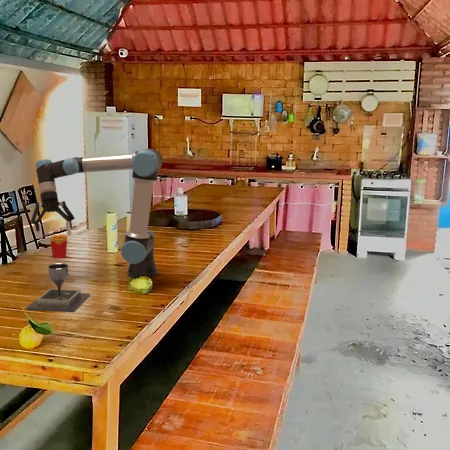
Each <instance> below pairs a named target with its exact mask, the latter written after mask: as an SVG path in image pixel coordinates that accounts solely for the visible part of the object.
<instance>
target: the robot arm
mask: <svg viewBox="0 0 450 450" xmlns="http://www.w3.org/2000/svg"><path fill="white" fill-rule="evenodd" d="M162 166H163V156H162V153H161V152H159V151H158V150H157V149H155V148H146V149H140V150H137V151H134V152H133V153H124V154H111V155H110V154H109V155H108V154H107V155H96V156H82V157H80V156H79V157H77V156H76V157H70V158H69V157H68V158H65V159H62V160H58V161H54V162H52V160H51V159H48V158H44V159H39V160H37V161H36V162H35V172H36V176H37V182H38V183H37V184H38V189H39V193H40V194H39V195H40V196H39V198H40V201H41V203H40V202H36V203H35V204H34V210H33V213H32V216H31V219H30V224H33V225H34V226H35V228H34V229H35V231H36V232H38V239H43V237H44V234H43V230H42V224H41V223H40V222H41V220H42V218H43V217H44V216H45V214H47V213H54V212H56V213H58V215H60V217H61V218H63V219H64V220H65V221H66V222H65V226H66V227H65V228H66V231H67V232H66V233H67V237H70V236H71V235H72V228H73V226H72V225H73V223H72V221H74V220H75V219H76V218H75V216H74V215H73V213H72V212H71V210H70V209H69V207H68V206H67V204H66V201H65V200H63V201H59V198H58V193H57V186H56V185H57V184H56V179H58V178H62V177H68V176H72V175H75V174H83V173H84V174H85V173H95V172H97V173H98V172H109V171H110V172H111V171H113V172H114V171H126V170H127V171H128V170H132V176H131V178H132V179H133V180H134V186H133V187H134V188H133V196H132V203H131V211H130V220H129V230H127V231H126V232H125V234H124V241H123V244H122V246H121V251H120V252H121V253H120V254H121V256H122V259H124V260H125V261H126V262H127V263H129V265H128V268H127V276H128V277H130V278H134V279H138V278H137V277H140V276H147V277H150V278H149V279H151V278H153V277H156V276H158V268H157V264H156V262H155V233H154V231H152V230H150V229H148V228H149V221H150V213H151V207H152V206H151V205H152V197H153V189H154V183H156V182H157V181H158V176H159V175H158V174H159V171H160V169H161V168H162ZM60 207H61V208H62V209H63V210H62V209H61V208H60ZM40 208H42V211H41V213H40V214H39V215H38V213H39V209H40ZM37 216H38V217H37Z"/></svg>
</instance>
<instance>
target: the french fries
mask: <svg viewBox="0 0 450 450" xmlns="http://www.w3.org/2000/svg"><path fill="white" fill-rule="evenodd" d="M50 239H51V240H50V248H51V251H52V252H51V254H52V258H53V259H64V258H65V259H66V257H67V246H68V245H67V244H68V234H67V235H66V234H65V233H64V234H63V233H62V234H61V233H60V234H53V235H50Z"/></svg>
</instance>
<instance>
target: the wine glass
mask: <svg viewBox="0 0 450 450" xmlns="http://www.w3.org/2000/svg"><path fill="white" fill-rule="evenodd" d="M68 265H69V264H67V263H53V264H50V265H48V267H47V268H48V269H47V270H48V274H49V278H50V280H51V281H52V282H53V283H54V284H55V286H56V287H57V289H58V292H59V297H55V298H52V299H55V300H68V297H64V296H61V294H60V291H61V289H62V286H63V284H64V283H65V281H66V280H67V278H68V274H69V266H68Z"/></svg>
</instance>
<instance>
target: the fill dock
mask: <svg viewBox="0 0 450 450" xmlns="http://www.w3.org/2000/svg"><path fill="white" fill-rule="evenodd" d="M60 294H61V296H64V297H68V300H55V299H52V298H55V297H59V292H58V288H49V289H47V290H46V291H45V292H43V294H41V295H40V296H38V298H36V299H35V300H34V301H33V302H31V303H30V304H29V305H27V306H26V310H27V311H44V312H45V311H46V312H47V311H48V312H49V311H50V312H68V313H75V311H76V310H78V308H80V307H81V305H83V303H84V302H85V301H87V299H88V298H89V297H90V296H91V294H90V293H89V292H88V293H86V292H85V293H84V292H82V290H81V289H68V288H67V289H63V288H61V291H60Z"/></svg>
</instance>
